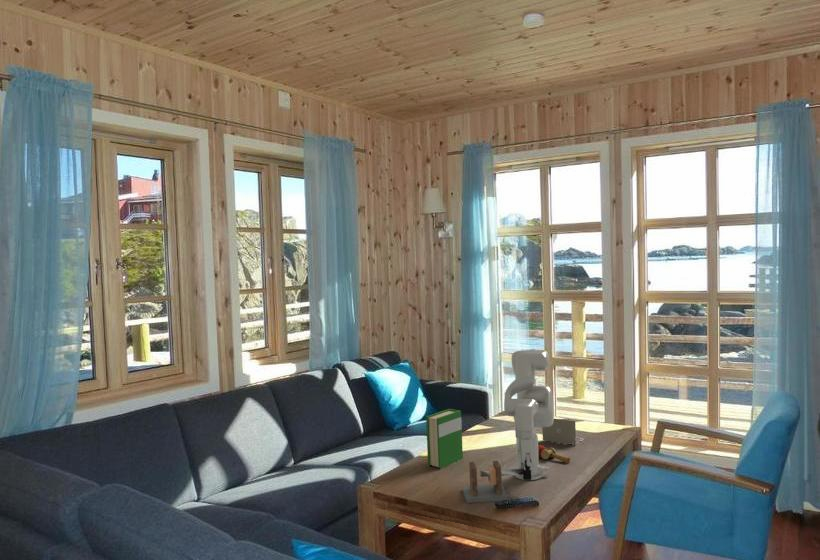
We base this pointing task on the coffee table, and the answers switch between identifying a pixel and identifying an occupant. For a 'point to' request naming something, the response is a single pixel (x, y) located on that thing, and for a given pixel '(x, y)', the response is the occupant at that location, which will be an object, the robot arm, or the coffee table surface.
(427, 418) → the hardback book
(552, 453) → the kendama
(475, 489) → the stand
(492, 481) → the collar
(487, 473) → the shaft
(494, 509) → the coffee table surface
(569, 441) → the laptop
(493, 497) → the base board
